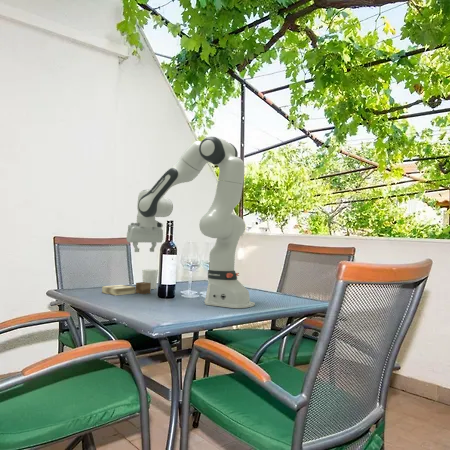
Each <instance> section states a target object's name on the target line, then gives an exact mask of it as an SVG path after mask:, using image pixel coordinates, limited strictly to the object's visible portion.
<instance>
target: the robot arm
mask: <svg viewBox="0 0 450 450" xmlns="http://www.w3.org/2000/svg"><path fill="white" fill-rule="evenodd" d="M238 154H239V153H238V150H237V148H236V147H235V145H234V144H232V143H230V142H228V141H226V140H225V139H222V138H220V137H217V136H208V137H205V138H203V139H202V140H195V141H193V142H192V143H191V144H190V145H189V146H188V147H187V149H186V150H185V151H184V152H183V153H182V155H181V156H180V158H179V159H178V160H177V162H176V163H175V164H174V165H172V167H171V168H168V170H166V171H165V173H163V174H162V175H161V177H160V178H159V179H158V180H157V181H156V183H155V184H154V185H153V186H152V187H151V188H150V189H144V190H141V191H140V192H139V193H138V197H137V205H136V207H137V215H136V222H130V223H129V224H128V226H127V232H126V239H125V240H126V242H127V243H132V246H133V248H134V253H140V248H139V247H138V244H139V243H151V247H150V248H149V252H150V253H154V252H155V248H156V246H157V243H162V242H163V240H164V230H163V227H164V223H162V222H160V221H158V220H156V218H167V217H169V216H170V215H172V212H173V209H174V205H173V201H172V200H171V199H170V198H169V197H165V195H166V193H168V191H169V190H170V189H171V188H172V187H175V186H176V185H180V184H184V183H190V182H192V181H193V180H195V178H197V177H198V176H199V174H200V173H201V171H202V170H203V168H204V167H206V165H207V163H210V164H212V165H214V166H218V167H217V168H219V173H218V180H217V185H216V189H215V194H214V199H213V201H212V203H211V205H210V207H209V209H208V211H207V212H206V213H205V214H204V215H203V216H201V218H200V219H199V220H200V221H199V231H200V232H201V234H202V235H204V236H205V237H208V238H212V239H216V241H215V244H214V246H213V248H211V250H210V251H209V259H208V261H209V270H207V280H208V282H207V289H206V294H205V298H204V301H203V302H204V304H205V305H206V306H213V307H214V306H215V307H222V308H231V309H245V308H251V307H255V305H256V304H255V303H256V302H253V301H251V299H250V291H249V290H248V289H247V288H246V287H245V285H243V284H242V283H241V282H240V281H239V280H238V276H240V273H239V272H236V270H235V260H236V250H237V247H238V244H239V240H240V239H241V237H242V236H243V235H244V233H245V230H246V222H245V220H244V218H243V217H241V216H239V215H237V214H233V212H234V209H235V208H236V207H237V205H238V204H239V203H240V202H241V198H242V193H243V192H242V191H243V189H244V188H243V187H244V180H245V162H244V160H242V159H241V158H240V157H239V156H238Z"/></svg>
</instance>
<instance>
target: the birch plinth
mask: <svg viewBox="0 0 450 450" xmlns="http://www.w3.org/2000/svg"><path fill="white" fill-rule="evenodd" d="M101 293H102V294H105V295H106V294H107V295H112V296H124V295H131V294H132V295H133V294H136V286H131V285H125V284H115V285H106V286H105V285H103V286H101Z"/></svg>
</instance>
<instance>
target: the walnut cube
mask: <svg viewBox="0 0 450 450" xmlns="http://www.w3.org/2000/svg"><path fill="white" fill-rule="evenodd" d="M138 293H139V295H148V294H151V283H147V282H143V281H142V282H140V281H139V282H135V294H138ZM147 293H148V294H147Z"/></svg>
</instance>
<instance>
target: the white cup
mask: <svg viewBox="0 0 450 450" xmlns="http://www.w3.org/2000/svg"><path fill="white" fill-rule="evenodd" d="M158 273H159V270H158V269H156V268H142V282H147V283H151V289H154V290H156V289H157V285H158Z"/></svg>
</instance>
